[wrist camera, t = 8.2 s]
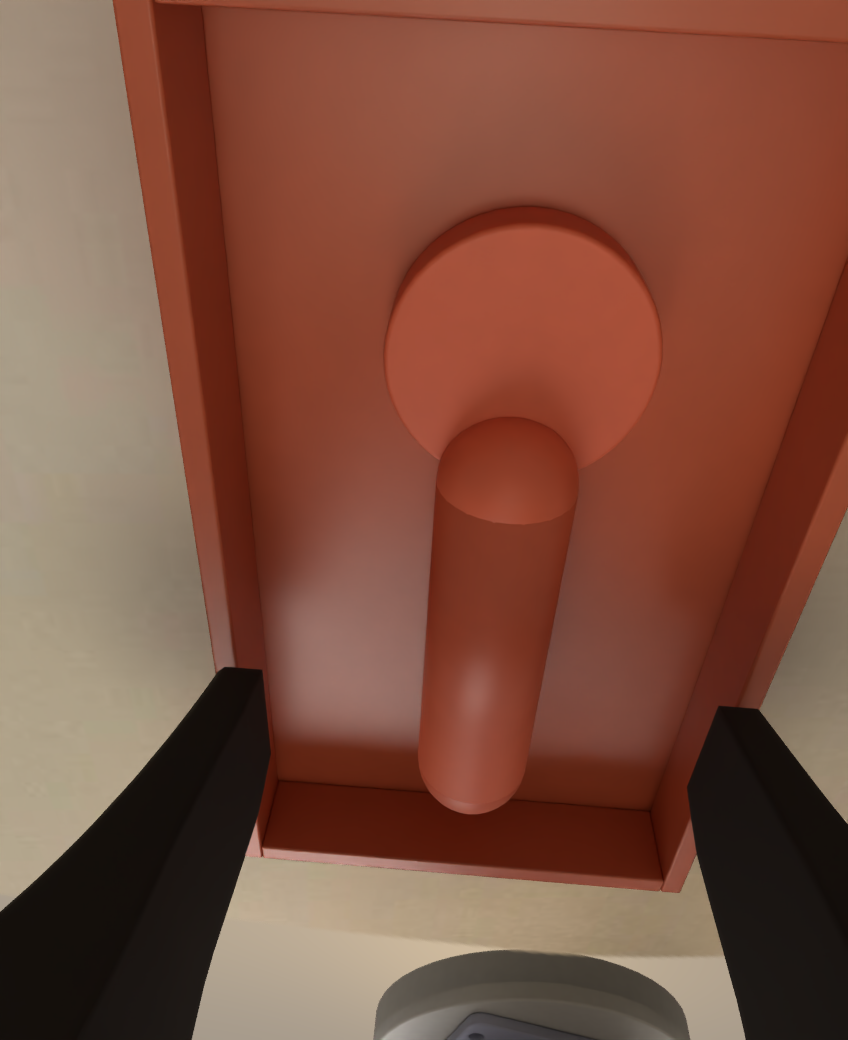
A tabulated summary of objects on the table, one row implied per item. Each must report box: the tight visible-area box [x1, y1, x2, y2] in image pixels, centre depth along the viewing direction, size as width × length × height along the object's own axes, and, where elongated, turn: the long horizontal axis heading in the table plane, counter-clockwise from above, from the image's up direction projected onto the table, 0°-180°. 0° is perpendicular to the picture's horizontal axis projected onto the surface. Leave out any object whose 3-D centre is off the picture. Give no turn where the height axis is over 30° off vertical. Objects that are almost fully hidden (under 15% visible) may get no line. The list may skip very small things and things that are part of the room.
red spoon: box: [383, 207, 663, 814], centre depth 12 cm, size 10×4×2 cm, turn 177°
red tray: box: [113, 0, 848, 893], centre depth 12 cm, size 15×9×2 cm, turn 177°
